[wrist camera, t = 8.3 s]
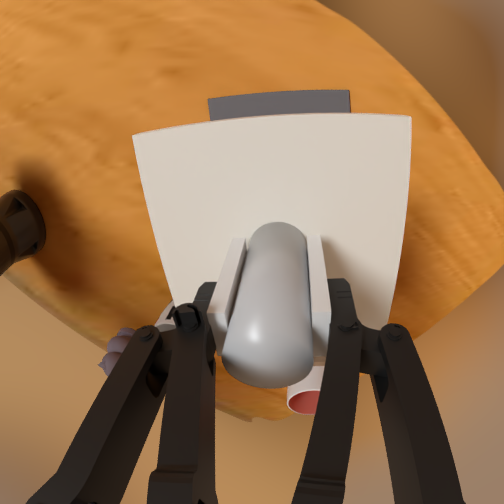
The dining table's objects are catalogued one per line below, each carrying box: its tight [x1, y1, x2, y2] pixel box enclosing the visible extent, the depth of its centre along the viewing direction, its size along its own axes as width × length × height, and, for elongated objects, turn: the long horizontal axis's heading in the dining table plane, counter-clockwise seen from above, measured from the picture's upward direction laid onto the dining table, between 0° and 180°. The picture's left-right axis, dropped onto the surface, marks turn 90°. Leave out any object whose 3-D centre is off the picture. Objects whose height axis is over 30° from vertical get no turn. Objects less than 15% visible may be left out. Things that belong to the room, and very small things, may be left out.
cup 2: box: [287, 366, 325, 415], centre depth 59 cm, size 10×10×10 cm
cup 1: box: [154, 300, 176, 332], centre depth 53 cm, size 8×8×10 cm
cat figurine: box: [98, 328, 136, 376], centre depth 60 cm, size 8×8×12 cm
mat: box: [208, 90, 350, 121], centre depth 41 cm, size 19×18×1 cm
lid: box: [132, 113, 411, 389], centre depth 16 cm, size 16×16×11 cm
